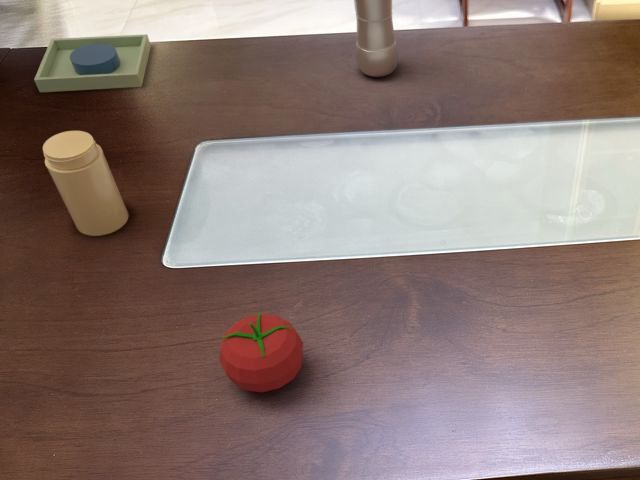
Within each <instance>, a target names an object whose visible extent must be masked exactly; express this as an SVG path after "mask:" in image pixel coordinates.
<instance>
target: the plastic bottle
mask: <svg viewBox="0 0 640 480" xmlns="http://www.w3.org/2000/svg"><path fill="white" fill-rule="evenodd" d="M353 5H354V11H355V18H356V43H355V60H356V64H357V67H358V69H359V70H360V71H361V73H363V74H364V75H366V76H369V77H374V78H380V77H381V78H382V77H385V76H389V75H391V74H392V73H393V72H394V71H395V70H396V68H397V66H398V63H399V50H398V44H397V41H396V36H395V30H394V22H393V20H394V19H393V0H353Z"/></svg>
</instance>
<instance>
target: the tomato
mask: <svg viewBox="0 0 640 480" xmlns="http://www.w3.org/2000/svg"><path fill="white" fill-rule="evenodd" d="M303 351H304V342H303V339H302V338H301V336H300V335H299V333H298V331H297V330H296V328H295V327H294V326H293V324H292V323H291V321H288V320H286V319H284V318H283V317H281V316H279V315H273V314H266V313H262V311H261V310H260V311H259V313H258V314H256V315H250V316H246V317H244V318H242V319H241V320H239V321H237V322H235V323H234V324H232V325H231V326H230V327H229V328H228V329H227V331H225V333H224V334H223V336H222V337H221V343H220V351H219V363H220V365H221V367H222V369H223V371H224V373H225V375H226V376H227V377H228V379H229V380H230V381H231V383H233V384H234V385H236V386H237V387H239V388H241V389H242V390H244V391H248V392H256V393H264V392H270V391H273V390H274V391H275V390H278V389H280V388H282V387H284V386H286V385H287V384H289V383H290V382H291V381H293V380H294V379H295V377H296V376H297V375H298V373H299V372H300V370H301V368H302V366H303V365H302V364H303V355H304V354H303V353H304V352H303Z"/></svg>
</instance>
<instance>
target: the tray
mask: <svg viewBox="0 0 640 480" xmlns="http://www.w3.org/2000/svg"><path fill="white" fill-rule="evenodd" d="M96 43H102V44H108V45H111V46H113V47H114V48H115V49H116V51H117V54H118V57H119V60H120V66H119V68H118V69H117V70H115V71H114V72H112V73H110V74H96V75H79V74H77V73H76V72H75V70H74V68H73V65H72V63H71V60H70V54H71V53H72V52H73V51H74V50H75V49H77V48H79V47H82V46H85V45H88V44H96ZM151 48H152V45H151V42H150V39H149V35H148V34H126V35H125V34H123V35H106V36H105V35H103V36H84V37H83V36H82V37H81V36H80V37H63V38H62V37H61V38H50V41H49V43H48V45H47V48H46V50H45V53H44V55H43V57H42V60H41V62H40V64H39V67H38V70H37V72H36V74H35V76H34V79H33V80H34V84H35V85H36V87H37V89H38V91H39V93H56V92H73V91H74V92H75V91H90V90H93V91H94V90H108V89H110V90H111V89H127V88H141V87H143V82H144V79H145V75H146V71H147V65H148V61H149V58H150V53H151Z"/></svg>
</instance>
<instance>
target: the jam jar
mask: <svg viewBox="0 0 640 480" xmlns="http://www.w3.org/2000/svg"><path fill="white" fill-rule="evenodd" d="M42 153H43V157H44V164H45V167H46V169H47V171H48V173H49V176H50V177H51V179H52V181H53V184H54V185H55V187H56V189H57V192H58V193H59V195H60V197H61V199H62V201H63V204H64V205H65V207H66V209H67V211H68V214H69V216H70V217H71V219H72V222H73V224H74V225H75V228H76V229H77V231H78V232H80V233H81V234H83V235H86V236H91V237H100V236H106V235H109V234H112V233H114V232H117V231H118V230H120V229H121V228H122V227H124V225H126V224H127V222H128V220H129V215H130V214H129V211H128V209H127V207H126V204H125V201H124V199H123V197H122V194H121V192H120V189H119V187H118V185H117V182H116V180H115V177H114V174H113V172H112V170H111V168H110V165H109V163H108V160H107V158H106V155H105V154H104V151H103V149H102V147H101V146H100V144H97V143H96V140H94V137H93V136H92V134H90V133H89V132H86V131H82V130H67V131H61V132H60V133H56V134H54V135H52V136H50V137H49V138H47V140H46V141H45V142H44V143H43V146H42Z"/></svg>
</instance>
